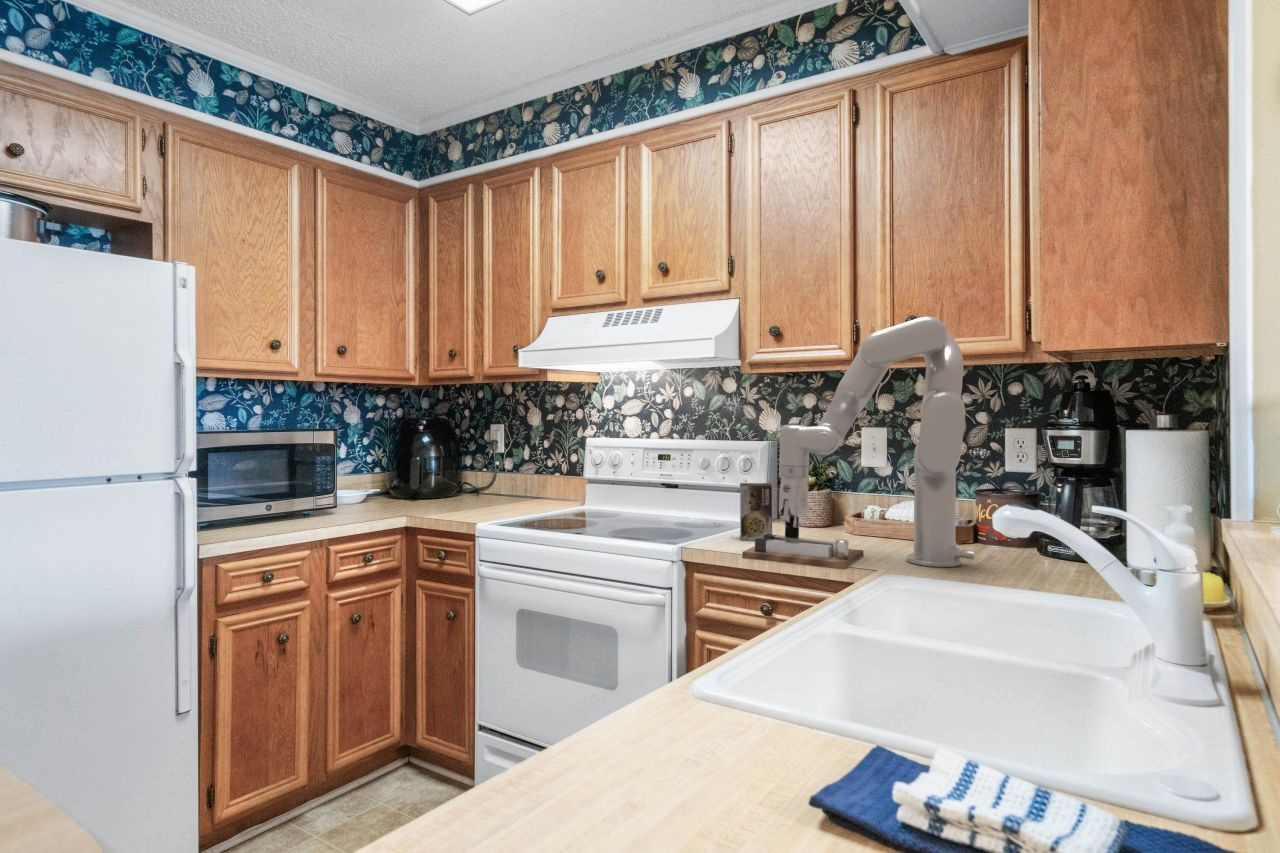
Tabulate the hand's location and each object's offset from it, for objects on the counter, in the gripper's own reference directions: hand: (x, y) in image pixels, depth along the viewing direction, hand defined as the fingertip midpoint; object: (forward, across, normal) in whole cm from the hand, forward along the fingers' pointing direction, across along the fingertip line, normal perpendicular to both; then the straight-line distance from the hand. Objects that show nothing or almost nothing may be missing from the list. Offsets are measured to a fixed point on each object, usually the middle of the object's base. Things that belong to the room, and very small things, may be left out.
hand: (791, 541), depth 195 cm
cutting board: (+3, -2, -4) cm, 6 cm away
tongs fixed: (+2, -7, -5) cm, 9 cm away
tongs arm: (+1, -3, -3) cm, 5 cm away
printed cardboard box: (+4, +15, +16) cm, 23 cm away
